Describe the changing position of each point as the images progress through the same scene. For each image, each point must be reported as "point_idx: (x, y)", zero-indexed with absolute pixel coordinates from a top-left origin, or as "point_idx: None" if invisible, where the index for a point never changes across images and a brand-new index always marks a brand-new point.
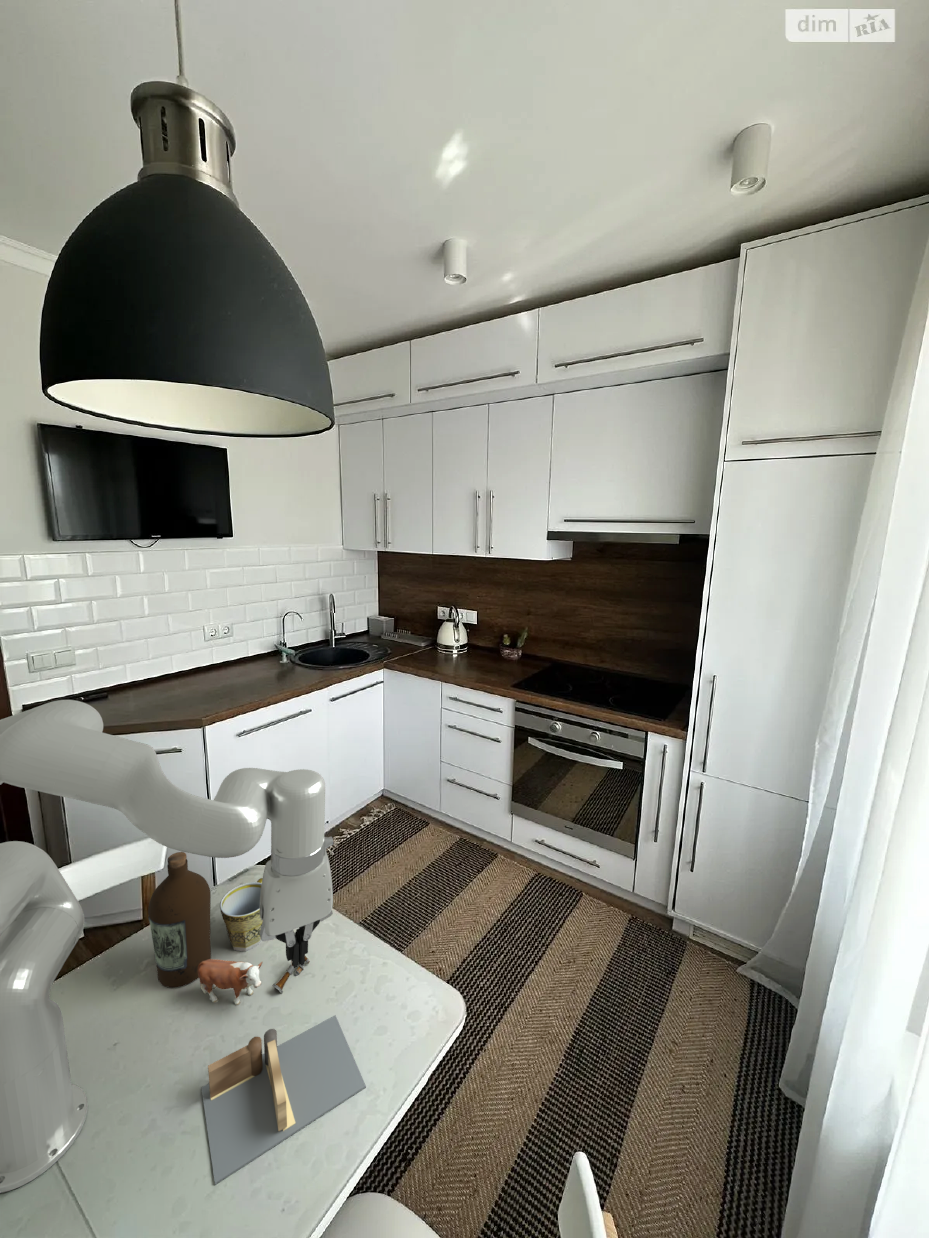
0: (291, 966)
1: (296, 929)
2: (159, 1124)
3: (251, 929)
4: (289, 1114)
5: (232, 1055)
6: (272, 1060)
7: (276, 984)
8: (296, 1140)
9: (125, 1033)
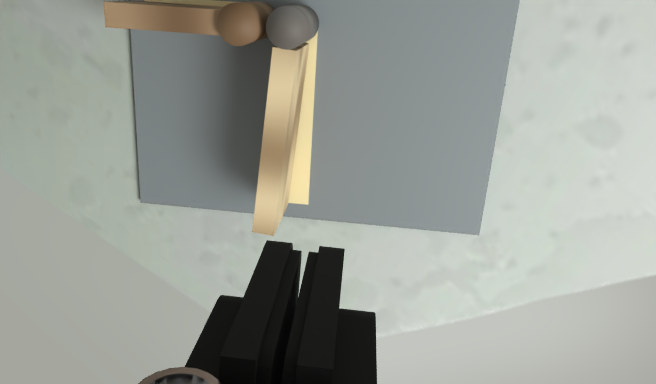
0: None
1: (297, 370)
2: (37, 3)
3: None
4: (302, 180)
5: (172, 15)
6: (271, 113)
7: None
8: (301, 229)
9: None
